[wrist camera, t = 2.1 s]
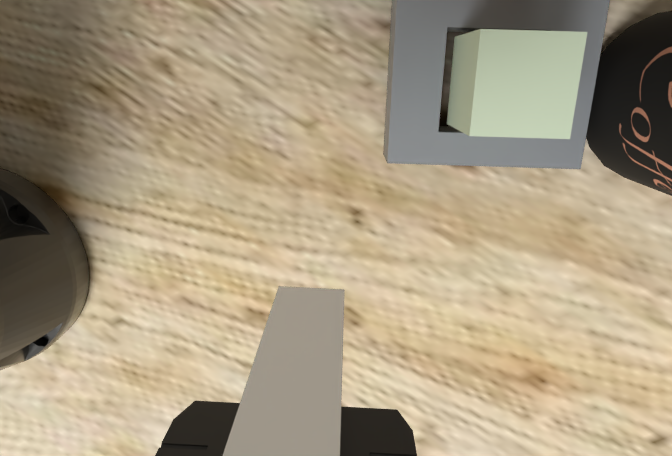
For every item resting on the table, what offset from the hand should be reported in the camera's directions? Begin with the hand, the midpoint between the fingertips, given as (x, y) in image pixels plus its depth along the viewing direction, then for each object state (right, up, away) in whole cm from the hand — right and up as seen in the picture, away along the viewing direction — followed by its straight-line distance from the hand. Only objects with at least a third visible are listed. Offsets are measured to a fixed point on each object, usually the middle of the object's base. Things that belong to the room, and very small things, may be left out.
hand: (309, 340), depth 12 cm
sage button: (+10, +11, +19) cm, 24 cm away
